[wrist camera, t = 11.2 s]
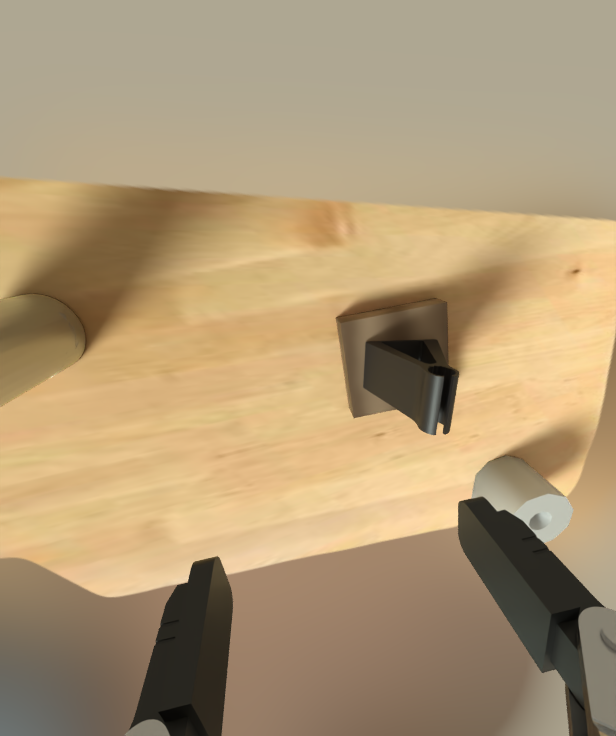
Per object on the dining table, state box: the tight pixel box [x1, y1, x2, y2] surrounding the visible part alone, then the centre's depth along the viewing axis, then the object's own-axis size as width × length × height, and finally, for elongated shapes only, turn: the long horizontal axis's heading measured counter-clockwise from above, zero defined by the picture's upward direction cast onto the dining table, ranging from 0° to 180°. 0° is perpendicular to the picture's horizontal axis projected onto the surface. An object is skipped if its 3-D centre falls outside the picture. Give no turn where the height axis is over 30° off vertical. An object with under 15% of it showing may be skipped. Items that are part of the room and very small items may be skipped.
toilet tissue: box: [471, 456, 573, 543], centre depth 50 cm, size 9×13×9 cm
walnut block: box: [336, 298, 448, 418], centre depth 43 cm, size 13×13×3 cm
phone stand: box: [363, 339, 459, 435], centre depth 36 cm, size 9×6×12 cm, turn 90°
